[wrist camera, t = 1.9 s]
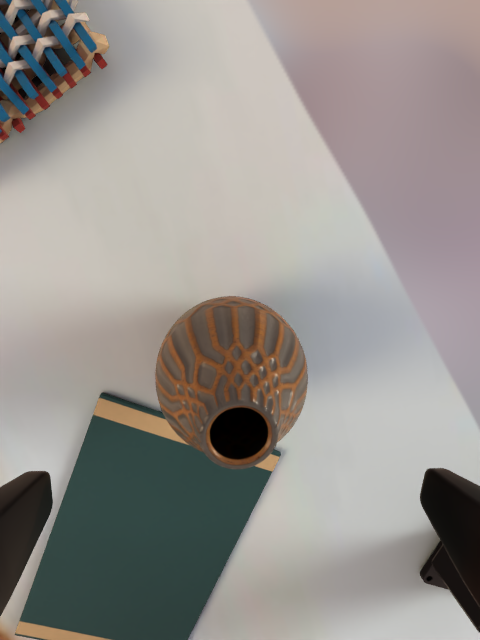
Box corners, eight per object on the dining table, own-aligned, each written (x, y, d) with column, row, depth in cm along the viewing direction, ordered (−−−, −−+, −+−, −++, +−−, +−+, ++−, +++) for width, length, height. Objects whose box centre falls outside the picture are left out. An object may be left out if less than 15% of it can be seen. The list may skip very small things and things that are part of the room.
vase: (157, 383, 17) (97, 508, 9) (188, 273, 16) (153, 292, 7) (264, 410, 18) (305, 547, 9) (301, 309, 17) (387, 362, 8)
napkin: (280, 451, 19) (281, 454, 18) (174, 660, 22) (174, 666, 22) (102, 392, 17) (100, 394, 17) (17, 629, 20) (14, 635, 20)
